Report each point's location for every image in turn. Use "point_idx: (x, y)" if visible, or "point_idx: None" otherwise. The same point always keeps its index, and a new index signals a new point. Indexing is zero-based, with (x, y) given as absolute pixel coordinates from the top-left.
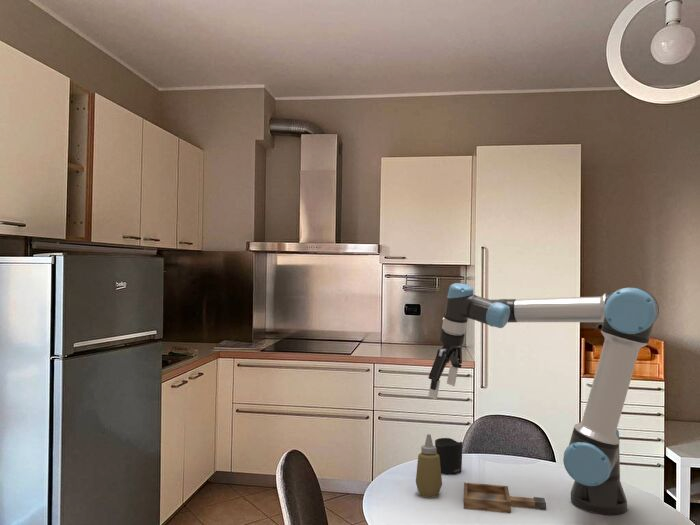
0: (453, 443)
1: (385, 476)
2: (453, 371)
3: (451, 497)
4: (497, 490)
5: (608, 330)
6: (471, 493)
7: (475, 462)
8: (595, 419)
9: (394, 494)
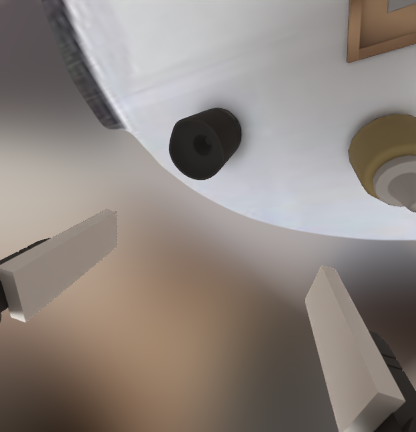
0: (177, 141)
1: (291, 225)
2: (49, 272)
3: (394, 83)
4: None
5: None
6: (376, 31)
7: (153, 95)
8: None
9: None
